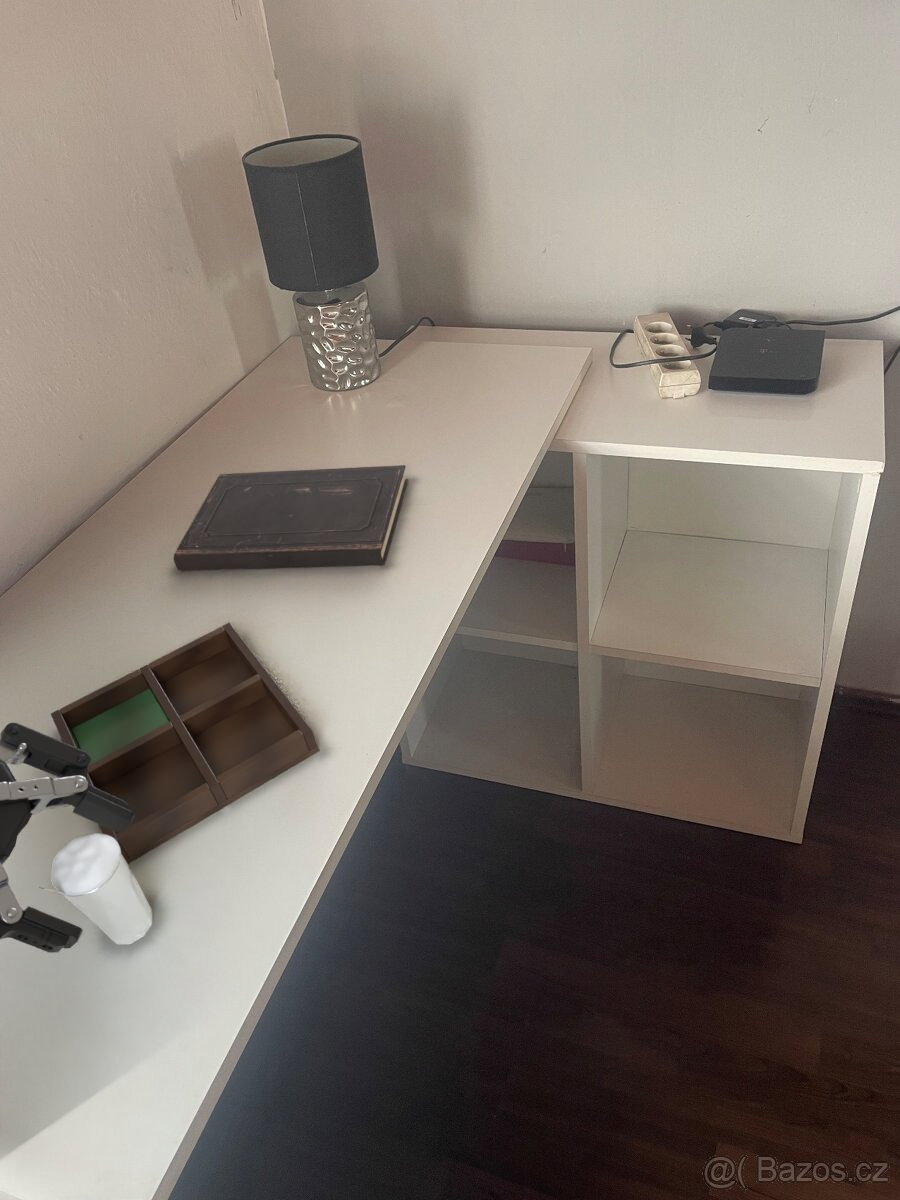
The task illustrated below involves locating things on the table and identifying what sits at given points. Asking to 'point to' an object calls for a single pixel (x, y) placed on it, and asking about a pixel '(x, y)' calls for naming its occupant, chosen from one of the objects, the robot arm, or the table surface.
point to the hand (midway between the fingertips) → (104, 878)
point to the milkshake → (102, 886)
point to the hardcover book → (295, 519)
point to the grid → (185, 736)
